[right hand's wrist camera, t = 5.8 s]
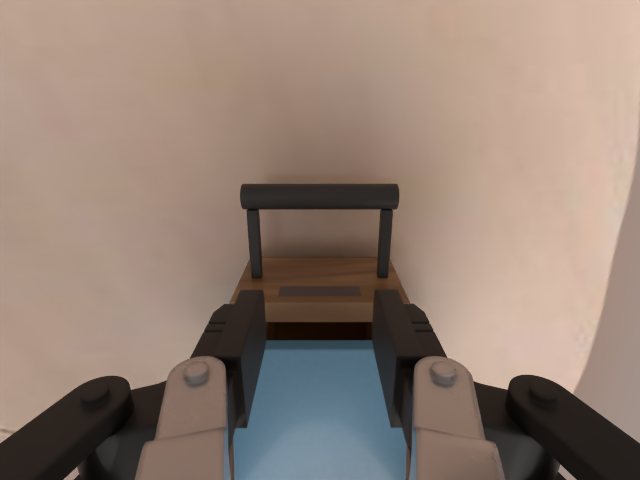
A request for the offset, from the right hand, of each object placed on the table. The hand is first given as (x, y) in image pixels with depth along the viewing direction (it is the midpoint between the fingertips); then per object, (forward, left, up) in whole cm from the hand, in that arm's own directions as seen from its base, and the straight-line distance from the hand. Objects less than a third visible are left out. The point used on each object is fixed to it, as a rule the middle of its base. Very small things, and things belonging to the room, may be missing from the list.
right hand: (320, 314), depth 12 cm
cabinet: (+13, -2, -13) cm, 19 cm away
